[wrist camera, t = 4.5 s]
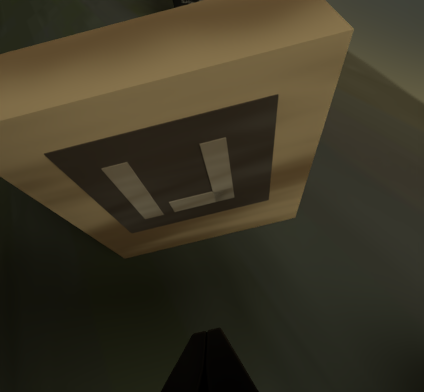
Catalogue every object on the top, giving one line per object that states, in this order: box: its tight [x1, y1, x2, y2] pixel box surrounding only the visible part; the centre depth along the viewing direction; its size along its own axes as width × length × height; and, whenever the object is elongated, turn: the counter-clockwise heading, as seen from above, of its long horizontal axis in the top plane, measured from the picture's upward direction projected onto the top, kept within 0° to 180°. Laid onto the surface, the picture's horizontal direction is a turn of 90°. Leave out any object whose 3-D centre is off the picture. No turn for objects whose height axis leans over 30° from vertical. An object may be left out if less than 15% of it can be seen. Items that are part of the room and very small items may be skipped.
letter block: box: [0, 0, 354, 258], centre depth 13 cm, size 4×12×12 cm, turn 101°
